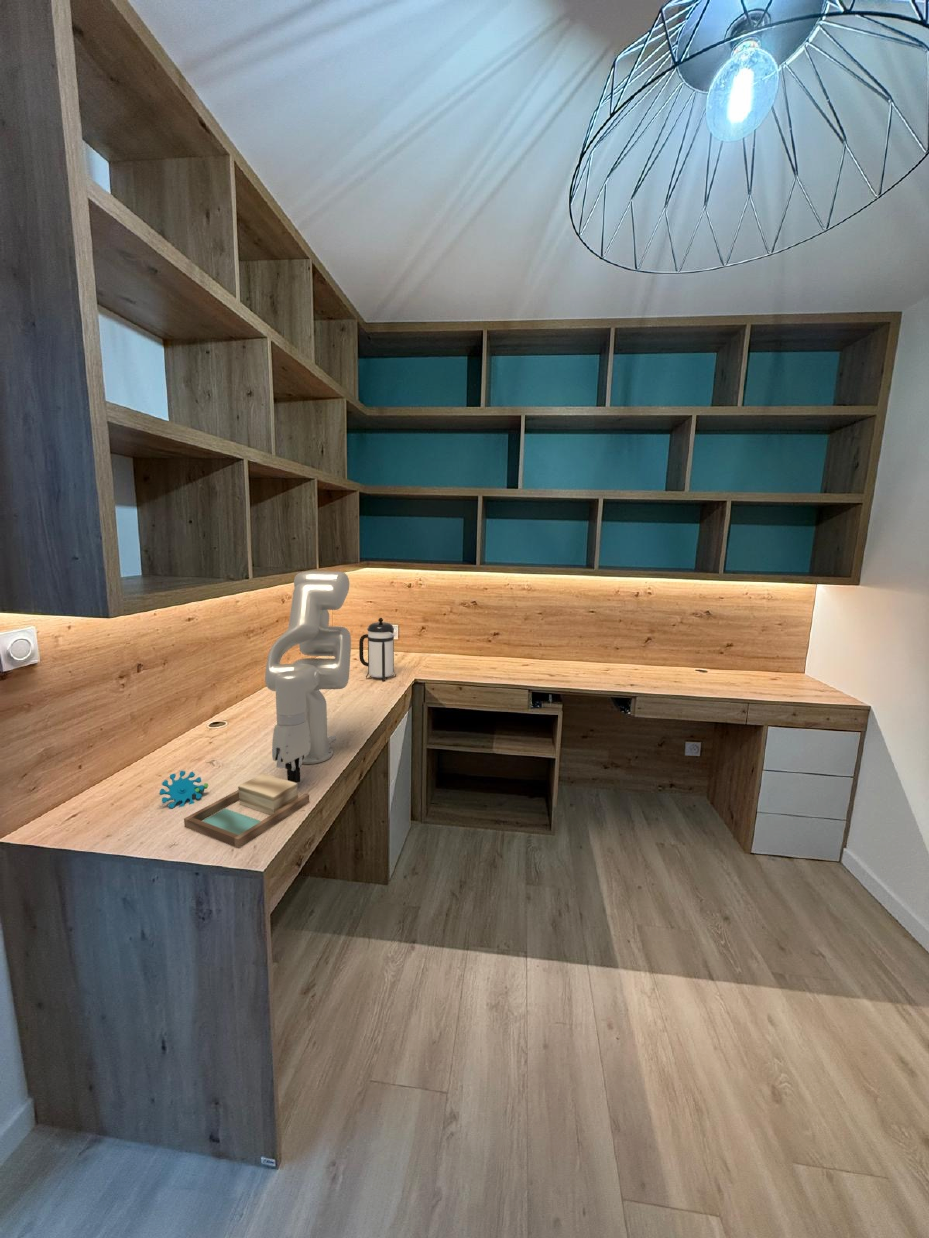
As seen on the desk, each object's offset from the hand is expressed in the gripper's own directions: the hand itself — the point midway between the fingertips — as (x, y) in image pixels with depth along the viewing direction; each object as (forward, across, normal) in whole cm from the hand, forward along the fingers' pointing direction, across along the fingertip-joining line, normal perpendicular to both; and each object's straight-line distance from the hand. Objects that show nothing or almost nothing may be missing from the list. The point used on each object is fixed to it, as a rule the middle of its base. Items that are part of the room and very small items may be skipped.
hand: (294, 781), depth 138 cm
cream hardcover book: (+2, +9, 0) cm, 9 cm away
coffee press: (+3, -103, -45) cm, 113 cm away
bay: (+3, +15, 0) cm, 15 cm away
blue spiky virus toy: (+3, +18, -20) cm, 27 cm away
